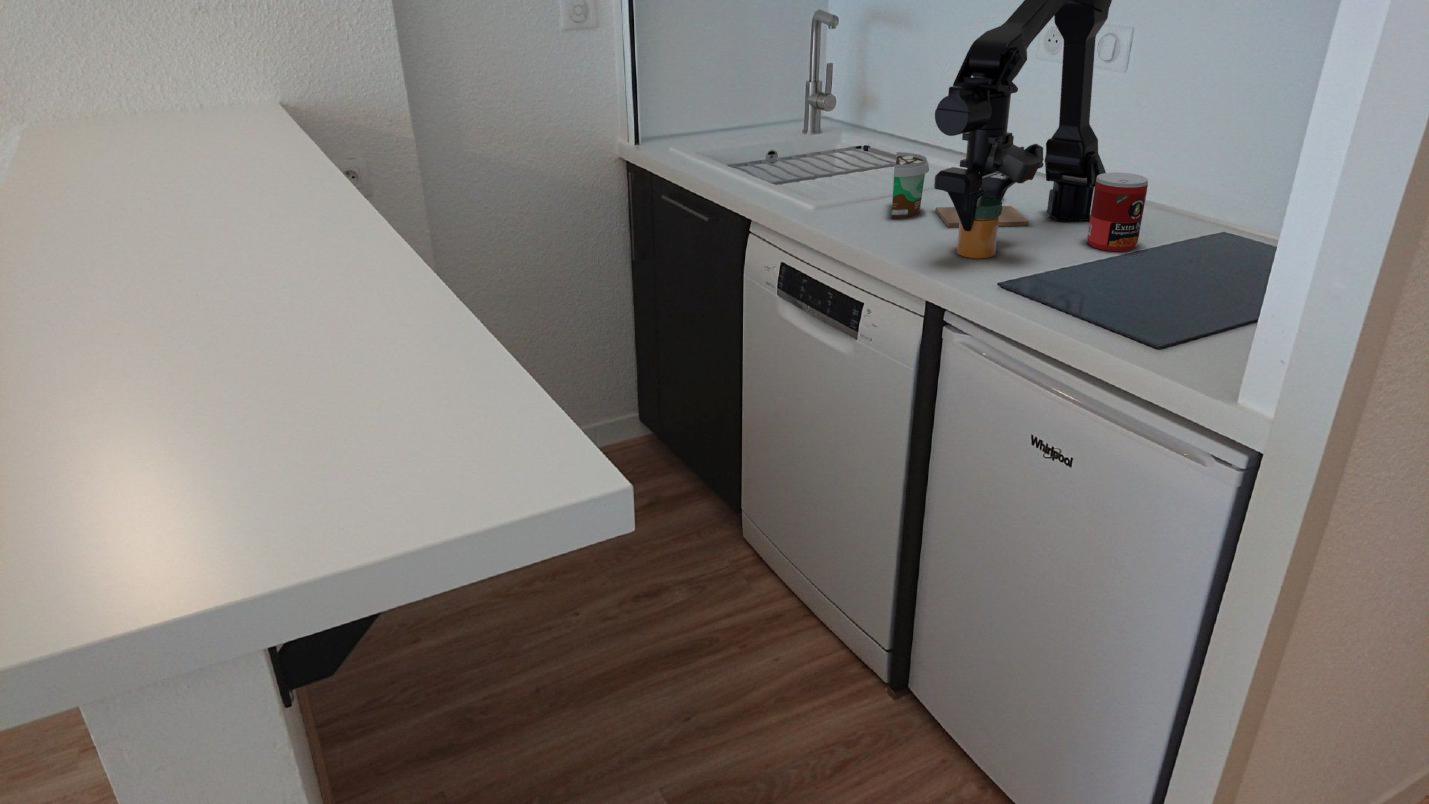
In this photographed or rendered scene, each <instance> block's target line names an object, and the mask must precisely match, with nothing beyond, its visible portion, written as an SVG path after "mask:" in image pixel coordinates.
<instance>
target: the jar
mask: <svg viewBox="0 0 1429 804" xmlns="http://www.w3.org/2000/svg"><path fill="white" fill-rule="evenodd" d="M998 223H999V217H996V218H989V219H977V218H974V221H973V225H972V229H971V231H965V230H964V229H963V226H962V224H961V221H960V222H959V227H958V233H957V234H958V235H957V245H956V253H957V254H958V255H960V256H962V257H964V258H969V259H987V258H992V257H994V256H995V255H996V250H997V240H998V233H999V226H998Z"/></svg>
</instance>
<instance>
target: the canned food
mask: <svg viewBox="0 0 1429 804" xmlns="http://www.w3.org/2000/svg"><path fill="white" fill-rule="evenodd" d="M1148 187H1149V179H1148V177H1145V176H1143V175H1140V174H1136V173H1128V172H1106V173H1103V174H1100V175H1098V176H1097V179H1096V184H1095V187H1094V191H1093V197H1092V204H1091V210H1090V215H1091V216H1090V220H1089V225H1088V230H1087V236H1086V239H1087V244H1088V245H1089V246H1090V247H1092V248H1094V249H1096V250H1097V249H1098V250H1101V251H1107V252H1108V251H1109V252H1128V251H1131V250H1134V249H1135V248H1136V246H1137V244H1138V243H1139V237H1140V231H1141V228H1142V227H1141V226H1142V221H1143V217H1144V216H1143V215H1144V209H1145V205H1146V198H1147V194H1148Z"/></svg>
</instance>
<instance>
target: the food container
mask: <svg viewBox="0 0 1429 804" xmlns="http://www.w3.org/2000/svg"><path fill="white" fill-rule="evenodd" d="M895 155H896V157H895V164H894V166H893V167H894V169H893V186H892V199H891V200H892V201H891V216H890V217H891V219H892V220H903V219H909V218H914V217H917V216H919V215H920V211H921V206H922V205H921V204H922V197H923V191H924V185H925V177H926V174H927V173H928V172H929V171H930V165H929V161H928V158H927V157H926V156H925V155H922V154H919V153H915V152H904V151H896V154H895Z"/></svg>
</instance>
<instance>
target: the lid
mask: <svg viewBox="0 0 1429 804" xmlns="http://www.w3.org/2000/svg"><path fill="white" fill-rule="evenodd" d="M1002 206H1003V200H1002V201H1000V200H998V199H994V198H989V197H980V198H979V199H978V201H977V206H976V211H975V216H974V218H977V219H989V218H996V217H999V216H1000V215H1001V213H1002Z"/></svg>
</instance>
